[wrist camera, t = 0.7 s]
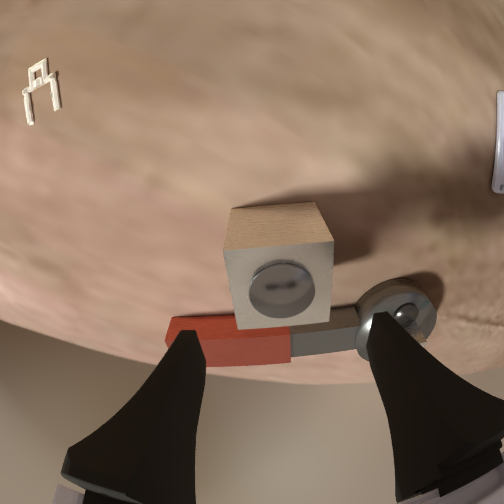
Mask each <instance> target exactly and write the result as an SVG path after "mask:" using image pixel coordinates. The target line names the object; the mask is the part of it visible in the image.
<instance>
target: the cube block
mask: <svg viewBox="0 0 504 504" xmlns="http://www.w3.org/2000/svg"><path fill="white" fill-rule="evenodd" d="M223 254H224V260H225V265H226V270H227V276H228V281H229V286H230V292H231V297H232V302H233V307H234V312H235V317H236V322H237V327H238V330H243V329H258V328H271V327H283V326H294V325H304V324H313V323H322V322H329V317H330V305H331V293H332V278H333V260H334V239H333V237H332V235H331V233H330V231H329V229H328V227H327V225H326V224H325V222H324V220H323V218H322V216H321V214H320V212H319V210H318V208H317V206H316V204H315V202H303V203H290V204H278V205H266V206H256V207H245V208H235V209H231V212H230V217H229V222H228V227H227V232H226V237H225V242H224V248H223Z"/></svg>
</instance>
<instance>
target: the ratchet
mask: <svg viewBox="0 0 504 504" xmlns="http://www.w3.org/2000/svg"><path fill="white" fill-rule="evenodd" d="M385 311H387V312H388V313H389V314H390V315H391V316H392V317H393V318H394V319H395V320H396V321H397V322H398V323H399V324H400V325H401V326H402V327H403V328H404V329H405V330H406V331H407V332H408V333H409V334H410V335H411V336H412V337H413V338H414V339H415V340H416V341H417V342H418V343H419V344H420V345H421V346H422V347H423V348H424V347H425V345H426V342H427V341H426V339H427V338H428V336H429V335H430V334H431V332H432V330H433V328H434V326H435V323H436V318H437V314H436V310H435V307H434V306H433V304H432V303H431V301H430V300H429V298H428V297H427V295H426V294H425V292H424V291H423V289H422V288H421V286H420V285H419V284H418V283H417V282H415V281H413V280H410V279H406V278H397V279H391V280H388V281H385V282H382V283H380V284H378V285H376V286H375V287H373V288H371V289H370V290H369V291H367V292H366V293H365V294H364V295H363V296H362V297H361V298H360V299H359V300H358V301H357V303H356V304H355V305H354V306H351V307H343V308H335V309H330V317H329V322H322V323H313V324H304V325H294V326H283V327H271V328H258V329H243V330H238V327H237V322H236V317H235V315H220V316H200V317H172V318H171V321H170V325H169V328H168V331H167V334H166V338H165V342H166V345H167V347H168V349H169V347H170V346H171V344H172V343H173V341H174V340H175V338H176V336H177V335H178V333H179V332H180V331H181V330H196V333H197V336H198V339H199V342H200V345H201V348H202V350H203V353H204V356H205V359H206V367H225V366H250V365H266V364H279V363H291V357H297V356H307V355H316V354H324V353H332V352H339V351H346V350H352V349H357V351H358V353H359V355H360V356H361V357H362V358H363V359H365V360H367V361H369V358H368V354H367V349H366V344H367V340H368V336H369V332H370V327H371V323H372V318H373V314H374V313H379V312H385Z"/></svg>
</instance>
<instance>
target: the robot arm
mask: <svg viewBox="0 0 504 504" xmlns="http://www.w3.org/2000/svg"><path fill="white" fill-rule="evenodd" d="M500 185H501V186H500ZM492 190H493V191H494V192H495V193H504V91H498V93H497V139H496V153H495V163H494V172H493V179H492ZM366 349H367V354H368V358H369V362H370V367H371V370H372V373H373V375H374V378H375V381H376V384H377V387H378V390H379V392H380V395H381V398H382V401H383V404H384V407H385V410H386V414H387V418H388V423H389V428H390V434H391V439H392V446H393V455H394V465H395V496H396V501H397V504H504V452H502V453H501V452H500V448H501V447H502V442H501V439H502V438H504V400H502V399H499V398H497V397H495V396H492V395H490V394H488V393H486V392H484V391H482V390H481V389H479V388H477V387H475V386H473V385H472V384H470V383H468V382H467V381H465V380H464V379H462V378H461V377H459V376H458V375H456V374H455V373H454V372H452V371H451V370H450V369H448V368H447V367H446V366H444V365H443V364H442V363H441V362H439V361H438V360H437V359H436V358H435V357H434V356H432V355H431V354H430V353H429V352H428V351H427V350H426V349H425V348H423V347H422V346H421V345H420V344H419V343H418V342H417V341H416V340H415V339H414V338H413V337H412V336H411V335H410V334H409V333H408V332H407V331H406V330H405V329H404V328H403V327H402V326H401V325H400V324H399V323H398V322H397V321H396V320H395V319H394V318H393V317H392V316H391V315H390V314H389V313H388V312H387V311H385V312H379V313H374V314H373V318H372V323H371V327H370V332H369V336H368V340H367V344H366ZM205 376H206V359H205V356H204V353H203V350H202V348H201V345H200V342H199V339H198V336H197V333H196V330H181V331H180V332H179V333H178V335H177V336H176V338H175V340H174V341H173V343H172V344H171V346H170V347H169V349H168V350H167V352H166V354H165V355H164V357H163V358H162V359H161V361H160V362H159V364H158V365H157V367H156V368H155V370H154V371H153V372H152V374H151V375H150V376H149V377H148V379H147V380H146V381H145V383H144V384H143V385H142V386H141V388H140V389H139V390H138V391H137V392H136V394H135V395H134V396H133V397H132V398H131V399H130V400H129V401H128V402H127V403H126V404H125V405H124V406H123V407H122V408H121V409H120V410H119V411H118V412H117V413H116V414H115V415H114V416H113V417H112V418H111V419H110V420H108V421H107V422H106V423H105V424H103V425H102V426H101V427H100V428H98V429H97V430H96V431H94V432H93V433H92V434H91V435H89V436H87V437H86V438H84V439H83V440H81V441H80V442H78V443H76V444H75V445H73V446H71V447H69V448H68V451H67V454H66V456H65V460H64V463H63V467H62V470H61V475H62V476H63V477H64V478H65V479H67V480H69V481H71V482H72V483H74V484H76V485H78V486H80V487H82V488H84V489H86V491H85V494H82V493H80V492H78V491H75V490H73V489H70V488H68V487H66V486H63V485H61V484H57V486H56V490H55V493H54V497H53V502H52V504H196V496H195V447H196V432H197V425H198V420H199V414H200V408H201V403H202V397H203V392H204V385H205ZM421 494H422V495H421ZM419 495H420V496H419ZM416 496H417V497H416ZM413 497H415V498H413ZM411 498H412V499H411ZM408 499H409V500H408ZM405 500H406V501H405ZM402 501H403V502H402ZM399 502H400V503H399Z"/></svg>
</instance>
